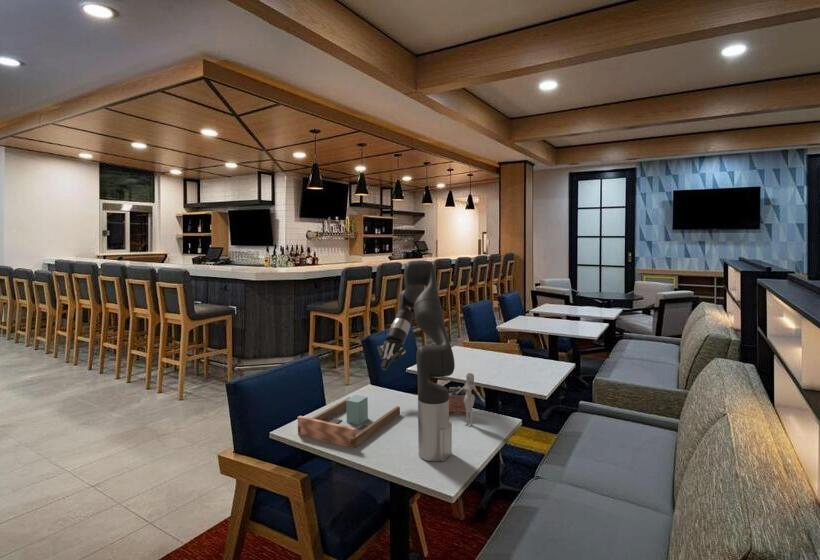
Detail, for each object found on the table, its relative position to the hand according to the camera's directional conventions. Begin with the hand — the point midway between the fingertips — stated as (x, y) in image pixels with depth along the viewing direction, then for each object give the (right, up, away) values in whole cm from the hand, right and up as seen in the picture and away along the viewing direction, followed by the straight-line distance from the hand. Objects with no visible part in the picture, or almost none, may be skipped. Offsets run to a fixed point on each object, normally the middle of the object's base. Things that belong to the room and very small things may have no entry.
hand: (383, 369), depth 180 cm
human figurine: (+31, -15, -20) cm, 40 cm away
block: (-9, -15, -15) cm, 23 cm away
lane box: (-10, -16, -18) cm, 26 cm away
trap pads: (-12, -16, -21) cm, 29 cm away
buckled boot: (+28, -15, -10) cm, 33 cm away
